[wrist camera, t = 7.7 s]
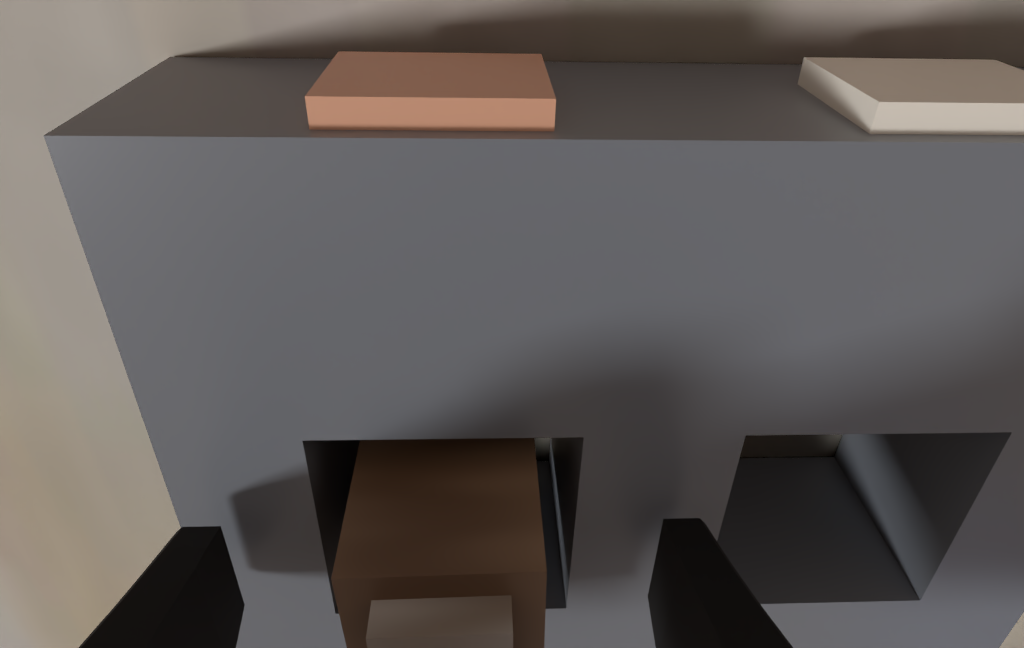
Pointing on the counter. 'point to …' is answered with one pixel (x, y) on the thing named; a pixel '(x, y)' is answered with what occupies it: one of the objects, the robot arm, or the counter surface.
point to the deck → (584, 317)
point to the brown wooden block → (442, 546)
